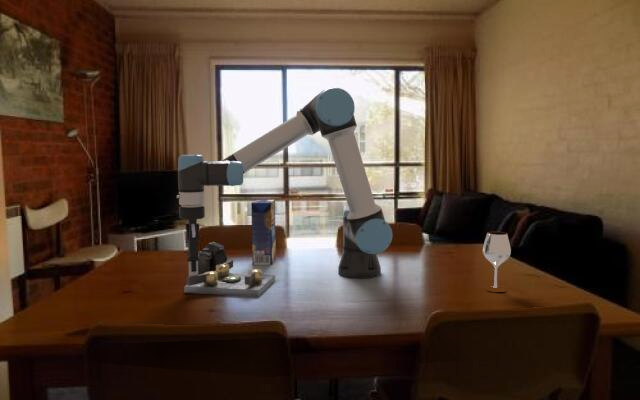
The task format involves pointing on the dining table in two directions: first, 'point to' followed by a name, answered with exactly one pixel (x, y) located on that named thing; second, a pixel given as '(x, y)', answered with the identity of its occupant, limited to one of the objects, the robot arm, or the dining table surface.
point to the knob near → (203, 278)
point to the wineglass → (496, 250)
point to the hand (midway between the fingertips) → (193, 280)
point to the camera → (211, 257)
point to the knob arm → (253, 276)
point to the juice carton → (263, 232)
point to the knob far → (224, 268)
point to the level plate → (233, 286)
